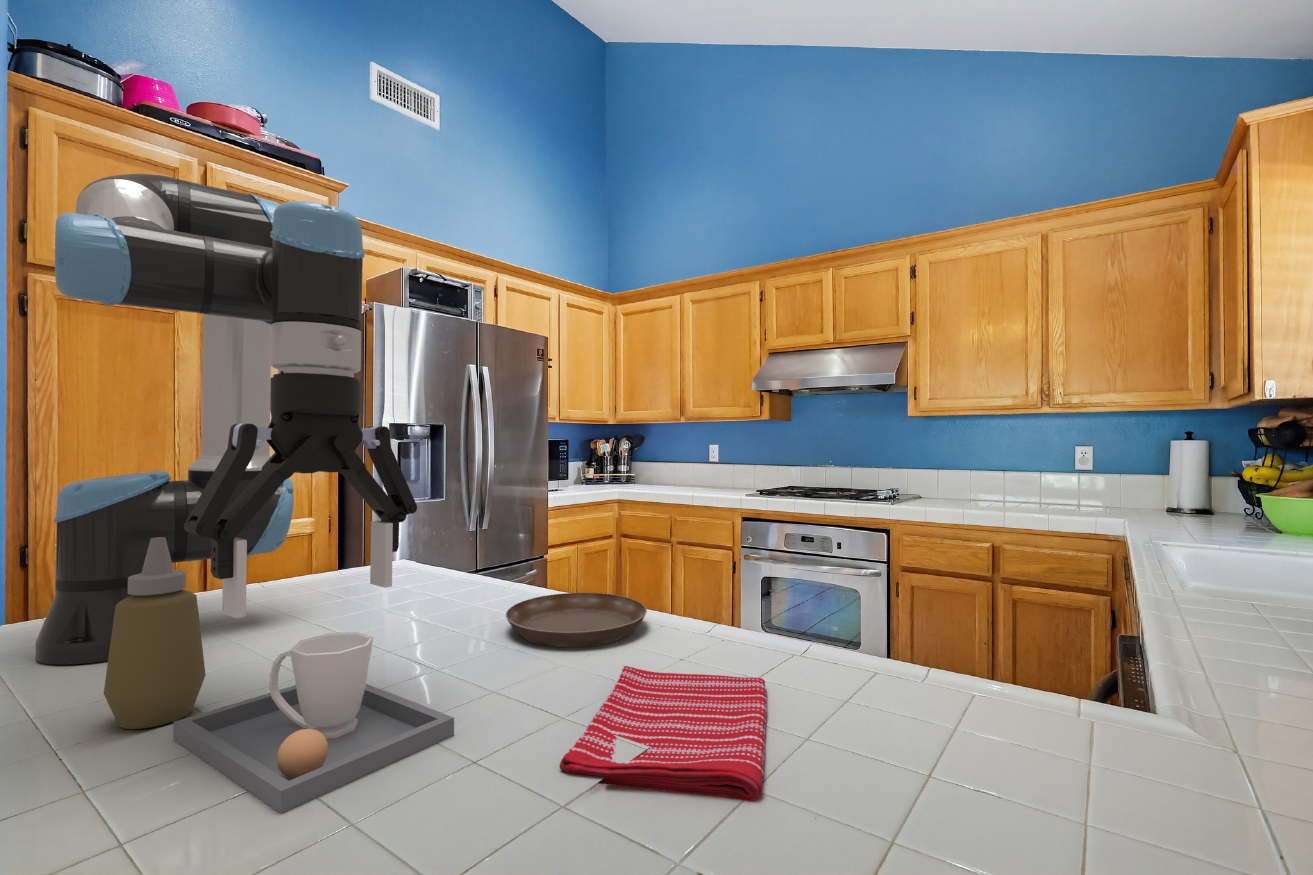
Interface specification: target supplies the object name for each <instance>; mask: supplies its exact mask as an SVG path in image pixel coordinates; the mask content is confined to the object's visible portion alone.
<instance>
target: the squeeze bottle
mask: <svg viewBox="0 0 1313 875" xmlns="http://www.w3.org/2000/svg"><path fill="white" fill-rule="evenodd" d="M186 588H187V572H186V571H185V570H181V569H180V570H178V569H177V570H176V569H174V566H173V563H172V561H171V557H170V554H169V550H168V546H167V542H166V538H165V537H157V538H151V539H150V543H149V547H148V551H147V554H146V558H145V562H144V565H143V569H142V573H141V574H136V575H133V576H130V577H129V578H128V594H130V595H132V596H130V597H127V598H125V599H123V600H121V601H120V602H119V603H118V604H116V607H115V613H114V621H113V628H112V635H111V643H110V650H109V657H108V660H107V665H106V671H105V680H104V688H103V696H104V697H105V700H106V703H107V705H108V707H109V708H110V710H111V714H112V715H113V717H114V719H115V721H116V724H117V726H118V727H120V728H122V729H126V730H127V729H128V730H137V729H138V730H139V729H149V728H153V727H158V726H163V725H167V724H169V723H172V722H173V723H174V721H178V720H181V719H183V718H185V717H187V716H188V715H189V714H190V713H191V712H192V711H193V710H194V707H195V704H196V701H197V699H198V696H199V693H200V691H201V688H202V685H203V683H204V681H205V677H206V667H205V666H206V665H205V657H204V650H203V649H204V648H203V642H202V639H203V638H202V630H201V622H200V614H199V605H198V598H197V597H198V595H197V594H195V593H194V592H192V591H189V590H185V589H186Z"/></svg>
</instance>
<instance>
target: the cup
mask: <svg viewBox="0 0 1313 875" xmlns="http://www.w3.org/2000/svg"><path fill="white" fill-rule="evenodd" d="M373 642H374V636H373V635H370V634H369V635H368V634H366V633H361V632H358V631H350V632H331V633H330V632H329V633H325V634H320V635H317V636H313V637H309V638H306V639H301V640H299V641H298V642H297V643H295V645H294V646H293V647H291V649H290V650H287V651H285V652H282V653H280V654H279V655H277V657H276V658H275V660H274V661H273V663H272V666H271V670H270V673H269V682H268V688H269V693H271V697H272V699H273V701H274V702H275V704H276V705H277V707H278V708H279V709H280V710H281V711H282V712H283V713H284V714H286V715H287V716H288V717H289V718H290V719H291V720H292V721H293V722H295V723H296V724H298V725H300V726H301V727H303V728H308V729H314V730H317V731H319V732H320V733H322V734H323V735H324V737H325V738H326V739H330V738H337V737H340V736H342V735H345V734H347V733H350V732H352V731H354V729H355V728H356V726H357V724H358V719H357V718H355V717H356V715H357V713H358V712H359V710H360V706H361V702H362V698H363V695H364V691H365V687H366V684H367V679H368V674H369V673H368V672H369V667H370V666H369V665H370V660H371V655H372V648H373ZM287 657H289V658H291V659H290V660H291V665H292V670H293V671H292V672H293V675H294V683H295V685H296V689H297V696H298V701H299V705H300V708H301V711H302V715H303V717H302V716H301V715H299V714H298V713H297V712H296V711H295V710H294V709H293V708H292V707H291V706H290V705H289V704H288V703H287V702H286V701H285V700H284V698H283V697H282V696H281V694H280V691H279V690H280V687H279V683H278V682H279V673H280V670H281V664H282V663H283V662H284V660H285V658H287Z"/></svg>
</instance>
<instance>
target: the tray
mask: <svg viewBox="0 0 1313 875" xmlns="http://www.w3.org/2000/svg"><path fill="white" fill-rule="evenodd" d="M279 691H280V694H281V696H282V697H283V698H284V700H285V701H286V702H287V703H288V704H289V705H290V706H291V707H292V708H293V709H294V710H295V711H296V712H297V713H298V714H299V715H301V716H302V717H303V715H302V711H301V708H300V705H299V701H298V696H297V689H296V684H294V685H292V686H288V687H284V688H282V689H279ZM355 718H357V719H358V724H357V726H356V728H355V729H354V731H352V732H350V733H347V734H345V735H342V736H340V737H337V738H330V739H326V740H327V743H328V754H327V757H326V760H325V762H324V763H323V765H322V766H321V767H320V768H318V769H316V770H314V771H311V772H309V773H306V774H304V775H302V776H299V777H297V778H294V779H293V778H289V777H287V776H285V775H284V774H283V773H282V772H281V771H280V770H279V768H278V764H277V754H278V750H279V748H280V746H281V744H282V743H283V741H284V740H285V739H286V738H287V737H288V736H290V735H291V734H292V733H294V732H296V731H299V730H302V729H308V728H303V727H301V726H300V725H298V724H296V723H295V722H293V721H292V720H291V719H290V718H289V717H288V716H287V715H286V714H284V713H283V712H282V711H281V710H280V709H279V708H278V707H277V705H276V704H275V702H274V701H273V699H272V697H271V693H270V692H269V693H264V694H261V695H258V696H255V697H252V698H251V697H250V698H248V699H245V700H241V701H237V702H235V703H231V704H228V705H225V706H222V707H219V708H215V709H212V710H209V711H204V712H202V713H199V714H195V715H191V716H188V717H186V718H185V717H183V718H180V719H178V720H176V721H173V723H172V724H173V726H172V729H173V738H172V739H173V741H174V742H175V743H176V744H178V745H179V746H181V747H182V748H184V749H185V750H187V751H188V752H190V753H191V754H193V755H194V756H196V757H197V758H198V759H200V760H202V761H203V762H204V763H206V764H207V765H208V766H210V767H212V768H213V769H214V770H216V771H218V772H219V773H220V774H222V775H223V776H225V777H226V778H227V779H229V780H230V781H232V782H233V783H235V784H236V785H238V786H239V787H240V788H242V789H244V790H246V791H247V792H248V793H249V794H251V795H252V796H253V797H255V798H256V799H258V800H260V801H261V802H262V803H264V804H265V805H266V806H268V807H269V808H271V809H272V810H274V811H276V812H277V813H278V814H280V815H283V814H284V813H287V812H289V811H292V810H294V809H295V808H298V807H300V806H301V805H304V804H306V803H308V802H311V801H313V800H315V799H317V798H319V797H322V796H324V795H326V794H328V793H331V792H333V791H335V790H337V789H339V788H342V787H344V786H346V785H348V784H351V783H353V782H355V781H357V780H359V779H362V778H363V777H366V776H368V775H371V774H373V773H375V772H377V771H379V770H381V769H382V770H383V769H384V768H386V767H388V766H390V765H392V764H395V763H397V762H400V761H402V760H404V759H406V758H408V757H410V756H412V755H415V754H417V753H420V752H421V751H423V750H426V749H428V748H429V747H433V746H434V745H437V744H439V743H442V742H443V741H446V740H448V739H450V738H452V737H454V736H455V717H454V716H451V715H448V714H446V713H444V712H441V711H438V710H437V709H436V710H435V709H434V708H430V707H427V706H425V705H422V704H419V703H418V702H415V701H412V700H410V699H407V698H404V697H402V696H399V695H398V694H394V693H391V692H389V691H387V690H384V689H381V688H379V687H376V686H373V685H370V684H368V683H366V687H365V691H364V695H363V698H362V702H361V706H360V710H359V712H358V713H357V715H356V717H355Z"/></svg>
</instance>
